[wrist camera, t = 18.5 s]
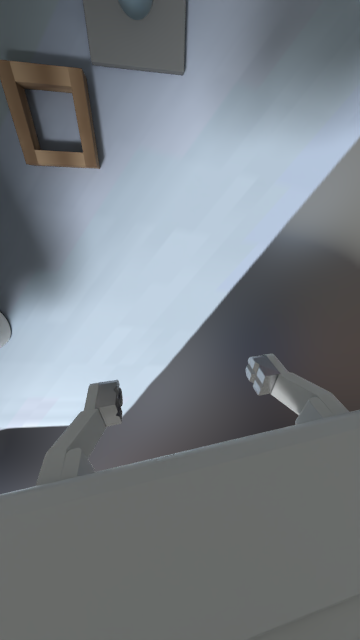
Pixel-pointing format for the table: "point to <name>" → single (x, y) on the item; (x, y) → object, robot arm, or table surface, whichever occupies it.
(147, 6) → the cylinder
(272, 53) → the table surface
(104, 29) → the grey mat
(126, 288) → the table surface
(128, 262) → the table surface
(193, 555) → the robot arm
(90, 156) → the walnut dock
